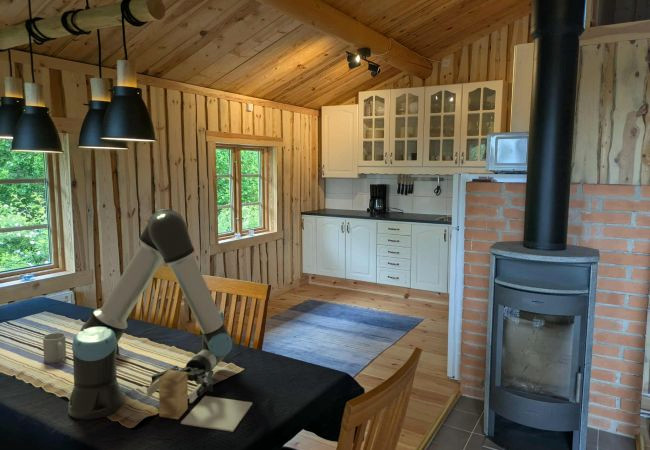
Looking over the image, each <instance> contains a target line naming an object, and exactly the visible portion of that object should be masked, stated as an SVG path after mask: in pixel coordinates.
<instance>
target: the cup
mask: <svg viewBox="0 0 650 450" xmlns="http://www.w3.org/2000/svg"><path fill="white" fill-rule="evenodd" d="M66 339H67V338H66V333H64V332H51V333H48V334H45V335H44V336H43V337H42V345H43V347H42V349H43V360H44V362H45V363H48V364H55V363H59V362H62V361H63V362H64V360H65V359H66V357H67V350H66V349H67V345H66Z"/></svg>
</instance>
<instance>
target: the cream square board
mask: <svg viewBox="0 0 650 450" xmlns="http://www.w3.org/2000/svg"><path fill="white" fill-rule="evenodd" d="M252 405H253V402H252V401H243V400H236V399H230V398H223V397H217V396H216V397H215V396H209V395H204V397H202V398H201V400H200V401H198V403H197V404H196V405H195V406H194V407H193V408H192V409H191V411H190V412H188V414H187V415H186V416H185V417H184V418H183V419H182V420H181V421H180V424H181V425H186V426H193V427H199V428H206V429H213V430H220V431H226V432H231V433H233V432H234V431H235V430H236V428H237V427H238V426H239V424H240V422H241V421H242V419H243V418H244V417H245V416H246V414H247V412H248V411H249V409H250V408H251V407H252Z"/></svg>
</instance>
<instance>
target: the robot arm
mask: <svg viewBox="0 0 650 450" xmlns="http://www.w3.org/2000/svg"><path fill="white" fill-rule="evenodd" d="M138 241H139V246H138V248H137V250H136V252H135V254H134V255H133V257H132V258H131V260H130V261H129V263H128V265H127V266H126V268H125V269H124V271H123V273H122V274H121V276H119V279H118V280H117V283H116V284H115V286H114V287H113V289H112V290H111V292H110V294H109V295H108V296H107V299H106V300H105V301H104V303H103V305H102V306H101V308H97V309H95V310H93V311H92V314H91V315H90V317H89V319H88V320H87V321H86V322H85V323H84V324H83V325H82V327H81V328H80V331H78V332H77V333H76V334H75V335H74V337H73V339H72V345H71V349H72V361H73V362H72V363H73V389H72V391H71V395H70V397H69V401H68V404H67V408H68V409H67V410H68V415H69V416H70V417H72V418H74V419H77V420H85V421H87V420H88V421H89V420H96V419H101V418H105V417H107V416H110V415H113V414H114V413H116V412H117V411H118V410H120V409H121V408H122V406H124V405H123V404H124V395H123V392H122V390H121V387H120V385H119V382H118V380H117V378H118V377H117V354H116V350H117V343H118V344H119V341H120V339H121V338H122V336H123V335H124V332H125V331H126V329H127V328H128V322H127V319H128V317H129V315H130V314H131V312H132V310H133V309H134V308H135V306H136V304H137V302H138V301H139V299H141V298H140V297H141V296H142V295H143V292H144V291H145V290H146V288H147V287H148V285H149V283H150V282H151V280H152V279H153V276H154V275H155V273H157V272H156V271H157V270H158V268H159V267H160V265H161V264H162V262H163V261H164V264H166V265H169V266H170V269H171V271H172V273H173V275H174V277H175V278H176V281H177V283H178V285H179V287H180V289H181V291H182V293H183V295H184V298H185V300H186V302H187V304H188V306H189V309H190V310H191V313H192V315H193V316H194V319H195V321H196V324H197V325H198V327H199V329H200V332H201V337H202V340H201V341H202V342H201V347H202V348H201V351H199V352H197V354H196V355H194V356H193V357H191V359H190V360H188V362H186V365H185V366H184V367H183V368H179V366H178V365H174V366H173V367H172V368H170V369H166V370H163V371H162V372H161V371H160V372H159V373H156V374H153V375H151V382H150V384H149V385H148V387H146V397H147V398H150V397H151V396H152V395H153V394H155V393H156V392H157V391H159V378H160V377H161V376H162V375H164V374H165V373H166V372H167V371H168V370H175V371H183V372H188V381H189V382H195V384H196V385H197V386H196V387H195V388H194V389H193V390H192V391H191V392H190V393H189V395H188V397H189V399H188V400H189V401H188V403H189V404H192V403H194V401H196V399H197V398H198V397H201V396H202V395H203V394H204V393H207V392H209V393H213V388H214V387H213V385H214V384H213V380H214V370H213V369H215V367H217V366H218V365H219V363H221V362H222V361H223V360H224V359H225V357H226V356H227V354H229V353H230V352H231V350H232V348H233V341H232V337H231V335H230V333H229V332H228V329H227V327H226V326H225V315H224V312H223V311H221V310H218V307H217V305H216V303H215V300H214V298H213V296H212V294H211V292H210V290H209V288H208V285H207V283H206V280H205V277H204V276H203V274H202V272H201V269H200V267H199V265H198V262H197V260H196V258H195V256H194V254H195V247H194V246H193V243H192V241H191V237H190V234H189V229H188V225H187V223H186V221H185V219H184V218H183V215H181V214H180V213H178V212H177V211H175V210H173V209H169V208H168V209H167V208H166V209H165V208H163V209H160V210H157V211H155V212H154V213H153V214H151V215H150V217H149V218H148V221H147V225H146V227H145V228H144V230H143V231H142V233H141V235H140V236H139V238H138ZM204 379H207V381H206V380H204Z"/></svg>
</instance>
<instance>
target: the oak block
mask: <svg viewBox="0 0 650 450" xmlns="http://www.w3.org/2000/svg"><path fill="white" fill-rule="evenodd" d="M167 370H168V371H167V372H166V373H165V374H164V375H162V376H161V377H160V378H159V389H158V405H159V407H158V409H159V410H158V411H159V413H158V414H159V415H158V417H161V418H167V419H175V420H179V419H180V418H181V417H182V416H183V415H184V413H186V411H187V410H188V407H189V405H188V403H189V401H188V400H189V399H188V397H189V395H188V392H189V391H188V389H189V388H188V385H189V384H188V381H189V380H188V372H183V371H175V370H169V369H167Z"/></svg>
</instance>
